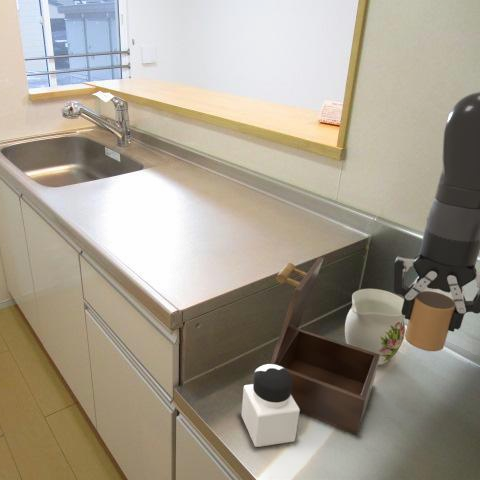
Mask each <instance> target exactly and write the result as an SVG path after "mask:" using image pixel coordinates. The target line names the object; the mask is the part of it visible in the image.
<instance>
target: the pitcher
mask: <svg viewBox="0 0 480 480" xmlns="http://www.w3.org/2000/svg"><path fill="white" fill-rule="evenodd" d="M351 301H352V302H351V304H352V305H351V307H350V309H349V311H348V312H347V315H346V317H345V323H344V336H345V337H344V338H345V342H346V343H345V344H348V345H351V346H355V347H358V348H361V349H364V350H367V351H370V352H373V353H377V354H380V357H379V361H378V366H382V365H384V364H386V363H387V362H389V361H390V360H392V359H393V358H394V357H395V355H396V354H397V353H398V351H399V350H400V348H401V346H402V344H403V341H404V339H405V333H406V321H405V315H402V312H401V311H402V307H403V303H404V298H403V297H401V296H400V295H399V294H396V293H394V292H390V291H388V290H385V289H384V290H383V289H379V288H362V289H358V290H356V291H354V292H353V293H352V294H351Z"/></svg>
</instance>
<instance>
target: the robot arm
mask: <svg viewBox="0 0 480 480" xmlns="http://www.w3.org/2000/svg"><path fill="white" fill-rule="evenodd" d="M442 138H443V141H442V155H441V157H442V158H441V159H442V168H441V171H440V172H441V173H440V176H439V179H438V183H437V186H436V192H435V196H434V197H433V202H432V204H431V206H430V208H429V212H428V216H427V218H426V224H425V227H424V232H423V236H422V241H421V245H420V248H419V253H418V255H417V256H416V257H414V258H407V257H405V256H404V255H397V256H396V258H395V261H394V262H393V263H394V264H393V293H394V294H396V295H401V296H402V298H403V299H404V303H403V307H402V311H401V312H402V315H405V318H404V320H408V321H409V318H410V314H411V310H412V306H413V302H414V297H415V296H416V295H417V294H418V293H420V292H421V291H424V290H425V288H427V289H430V290H439V291H441V292H444V293H448V294H449V293H451V296H452V300H454V302H455V305H456V307H455V310H454V313H453V317H452V320H451V324H450V327H449V331H448V332H452V333H453V332H455V330H460V329H461V327H462V325H463V324H462V322H463V320H464V316H465V314H466V313H473V314H476V315H477V314H480V272H477V268H476V264H477V261H478V258H479V254H480V91H477V92H472V93H470V94H467V95H465V96H464V97H462V98H460V99H459V100H458V101H457V102H456V103H455V104H454V105H453V106H452V108H451V110H450V111H449V114H448V116H447V118H446V121H445V126H444V131H443V137H442ZM411 267H413V269H414V271H415V272H416V274H417V277H416V278H415V279H414V281H413V282H412V283H411V284H410V286H407V285H406V284H405V273H407V272H409V270H410V268H411ZM474 280H475V281H476V287H477V289H478V290H477V292H476V294H475V295H474V297H473V299H472V300H467V299H466V296H465V290H464V287H465V286H466V285H468V284H469V283H471V282H473V281H474Z"/></svg>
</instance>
